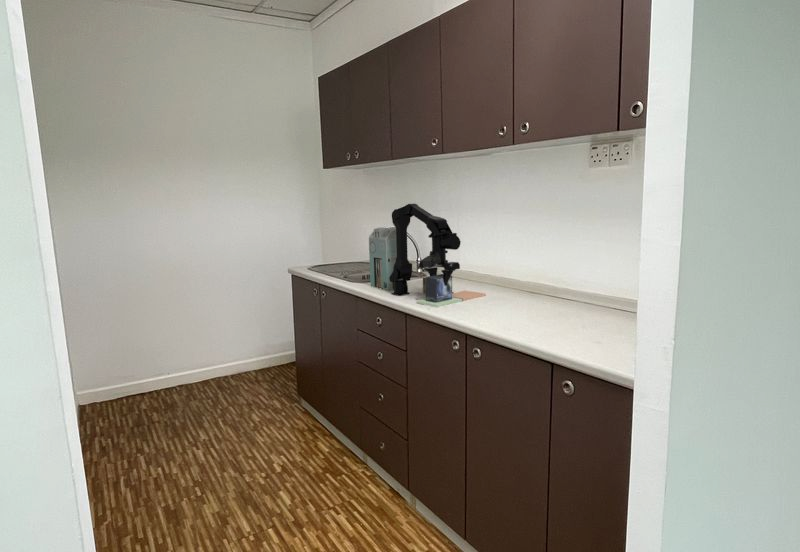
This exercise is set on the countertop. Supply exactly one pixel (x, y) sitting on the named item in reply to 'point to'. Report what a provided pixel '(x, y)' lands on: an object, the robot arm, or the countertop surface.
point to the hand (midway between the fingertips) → (439, 284)
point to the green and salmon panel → (454, 298)
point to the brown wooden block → (425, 285)
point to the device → (382, 257)
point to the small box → (438, 288)
